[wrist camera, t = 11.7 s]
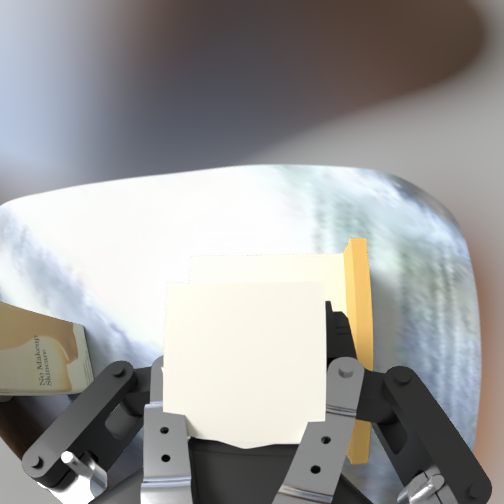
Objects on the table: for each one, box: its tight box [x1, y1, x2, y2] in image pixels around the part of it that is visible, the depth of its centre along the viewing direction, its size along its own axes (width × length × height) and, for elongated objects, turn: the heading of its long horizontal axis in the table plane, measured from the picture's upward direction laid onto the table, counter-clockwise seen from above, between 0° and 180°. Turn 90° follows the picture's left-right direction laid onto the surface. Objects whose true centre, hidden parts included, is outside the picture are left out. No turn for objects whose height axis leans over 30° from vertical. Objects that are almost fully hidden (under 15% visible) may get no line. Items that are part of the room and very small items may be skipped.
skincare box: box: [0, 302, 94, 396], centre depth 17 cm, size 6×4×12 cm
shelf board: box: [189, 238, 373, 465], centre depth 19 cm, size 12×14×5 cm
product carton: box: [163, 281, 327, 443], centre depth 13 cm, size 5×4×11 cm
